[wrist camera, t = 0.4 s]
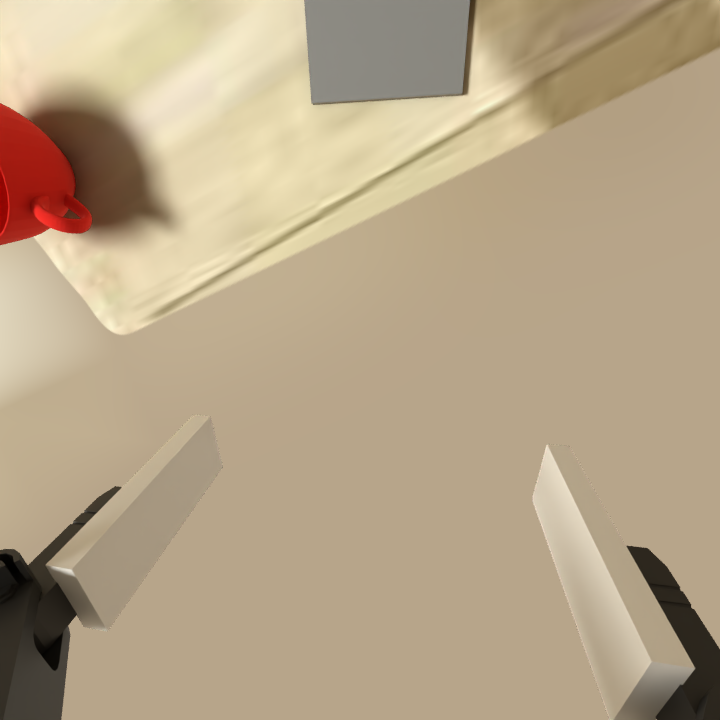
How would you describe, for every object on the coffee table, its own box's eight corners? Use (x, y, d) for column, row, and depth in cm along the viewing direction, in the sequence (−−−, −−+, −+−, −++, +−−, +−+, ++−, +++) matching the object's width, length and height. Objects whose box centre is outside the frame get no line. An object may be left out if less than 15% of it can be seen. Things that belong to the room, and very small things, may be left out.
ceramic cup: (127, 272, 43) (49, 295, 34) (-9, 200, 41) (-128, 204, 32) (147, 161, 37) (59, 153, 28) (-11, 73, 35) (-157, 35, 26)
